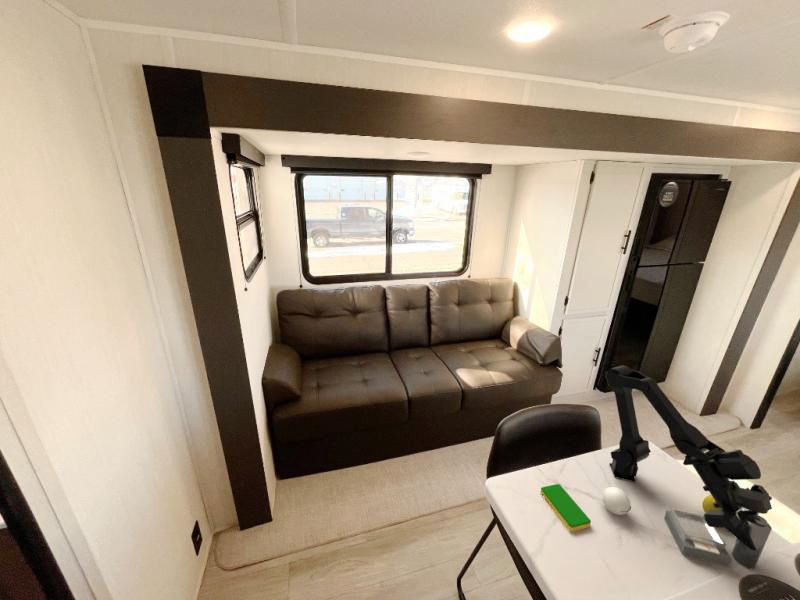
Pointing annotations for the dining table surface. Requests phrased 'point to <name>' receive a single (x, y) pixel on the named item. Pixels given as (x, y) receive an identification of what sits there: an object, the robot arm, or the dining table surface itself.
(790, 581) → the dining table surface
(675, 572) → the dining table surface
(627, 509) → the white egg
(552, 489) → the dish sponge
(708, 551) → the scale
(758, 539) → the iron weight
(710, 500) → the lemon
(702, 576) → the dining table surface
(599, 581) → the dining table surface
